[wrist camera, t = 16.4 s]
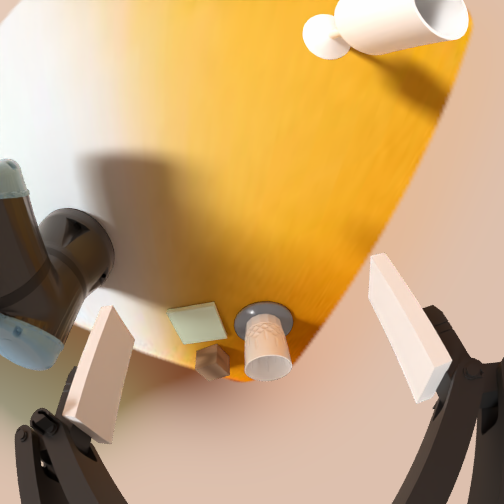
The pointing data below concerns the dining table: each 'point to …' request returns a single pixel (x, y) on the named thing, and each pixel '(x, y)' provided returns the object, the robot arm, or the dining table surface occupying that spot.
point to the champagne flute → (384, 26)
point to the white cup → (266, 349)
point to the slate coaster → (263, 308)
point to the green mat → (197, 323)
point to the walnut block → (212, 362)
